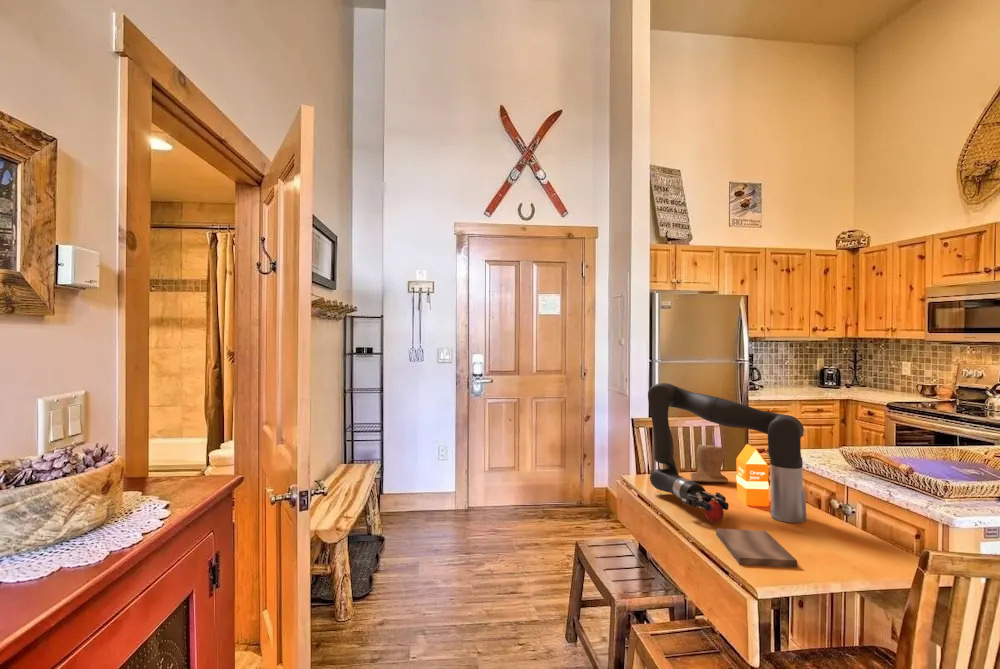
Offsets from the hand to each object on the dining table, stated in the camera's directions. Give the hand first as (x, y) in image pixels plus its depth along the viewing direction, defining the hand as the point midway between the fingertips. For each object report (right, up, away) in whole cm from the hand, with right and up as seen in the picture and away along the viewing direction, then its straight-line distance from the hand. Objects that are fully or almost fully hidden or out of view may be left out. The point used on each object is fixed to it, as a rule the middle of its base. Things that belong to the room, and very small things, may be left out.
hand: (718, 507), depth 153 cm
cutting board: (+2, -6, -17) cm, 18 cm away
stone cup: (+18, -7, +50) cm, 54 cm away
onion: (0, -6, +2) cm, 7 cm away
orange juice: (+23, -7, +24) cm, 33 cm away
